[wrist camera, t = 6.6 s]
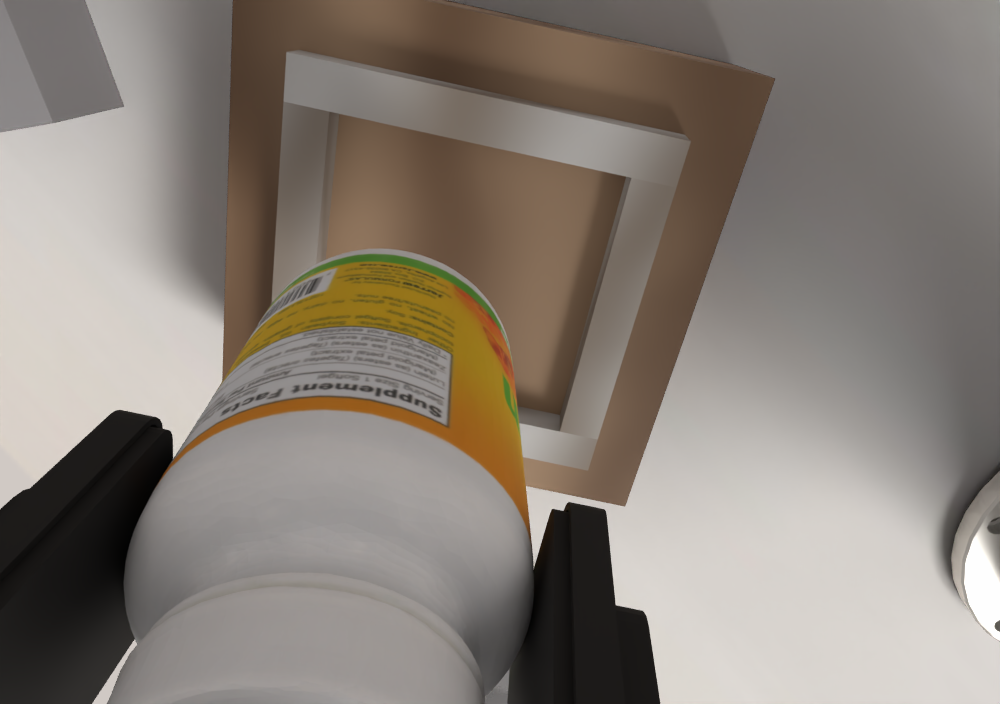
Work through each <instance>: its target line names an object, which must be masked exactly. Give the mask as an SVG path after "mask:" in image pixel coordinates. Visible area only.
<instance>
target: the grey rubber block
mask: <svg viewBox="0 0 1000 704" xmlns="http://www.w3.org/2000/svg"><path fill="white" fill-rule="evenodd" d="M119 107H124V105H123V102H122V99H121V97H120V94H119V91H118V88H117V86H116V83H115V80H114V78H113V75H112V72H111V69H110V67H109V64H108V61H107V59H106V56H105V53H104V50H103V48H102V45H101V42H100V40H99V37H98V34H97V32H96V29H95V26H94V23H93V21H92V18H91V15H90V13H89V10H88V7H87V4H86V2H85V0H0V132H5V131H11V130H16V129H22V128H28V127H33V126H39V125H45V124H51V123H56V122H60V121H64V120H68V119H73V118H77V117H81V116H85V115H90V114H94V113H98V112H102V111H107V110H111V109H115V108H119Z"/></svg>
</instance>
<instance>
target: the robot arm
mask: <svg viewBox="0 0 1000 704" xmlns="http://www.w3.org/2000/svg"><path fill="white" fill-rule="evenodd" d="M172 460H173V438H172V434H171V431H169V430H165V429H163V428H162V423H161V421H160V419H158V418H157V417H152V416H147V415H142V414H137V413H133V412H128V411H123V410H117V411H114V412H113V413H111V414H110V415H109V416H108V417H107V418H106V419H105V420H104V421H102V422H101V423H100V424H99V425H98V426H97V427H96V428H95V429H94V430H93V431H92V432H91V433H89V434H88V435H87V436H86V437H85V438H84V439H83V440H82V441H81V442H80V443H79V444H78V445H76V446H75V447H74V448H73V449H72V450H71V451H70V452H69V453H68V454H67V455H66V456H65V457H64V458H62V459H61V460H60V461H59V462H58V463H57V464H56V465H55V466H54V467H53V468H52V469H51V470H49V471H48V472H47V473H46V474H45V475H44V476H43V477H42V478H41V479H40V480H39V481H38V482H37V483H35V484H34V485H33V486H32V487H31V488H30V489H26V490H23V491H22V492H21V493H19V494H17V495H16V496H15V497H13V498H12V499H11V500H10V501H9V502H8V503H7V504H6V505H4V506H3V507H2V508H1V509H0V704H92V703H93V701H94V700H95V698H96V697H97V695H98V694H99V692H100V690H101V689H102V688H103V686H104V684H105V683H106V682H107V680H108V678H109V677H110V675H111V674H112V672H113V671H114V669H115V668H116V666H117V664H118V663H119V662H120V660H121V659H122V657H123V656H124V654H125V653H126V651H127V649H128V648H129V646H130V645H131V644H132V642H133V641H134V639H135V638H134V635H133V633H132V630H131V628H130V624H129V620H128V617H127V613H126V607H125V597H124V584H123V582H124V572H125V562H126V557H127V552H128V548H129V544H130V541H131V538H132V535H133V532H134V529H135V527H136V525H137V522H138V520H139V518H140V516H141V514H142V512H143V510H144V508H145V506H146V504H147V502H148V500H149V498H150V496H151V494H152V493H153V491H154V489H155V487H156V486H157V484H158V482H159V481H160V479H161V477H162V476H163V474H164V472H165V471H166V469H167V468H168V466H169V465H170V463H171V462H172ZM951 563H952V573H953V580H954V583H955V585H956V588H957V590H958V593H959V595H960V598H961V599H962V601H963V602H964V604H965V605H966V607H967V608H968V610H969V611H970V613H971V614H972V616H973V617H974V619H975V620H976V622H977V623H978V624H979V625H980V626H981V627H982V628H983V629H984V630H985V631H986V632H987V633H988V634H989V635H990V636H992V637H993V638H995V639H996V640H998V641H1000V471H999V472H998V473H997V474H996V475H995V476H994V477H993V478H992V479H991V480H990V481H989V482H988V483H987V484H986V485H985V486H984V487H983V488H982V489H981V490H980V492H979V493H978V495H977V496H976V498H975V499H974V500H973V502H972V503H971V505H970V506H969V508H968V509H967V511H966V512H965V514H964V516H963V518H962V521H961V523H960V525H959V528H958V530H957V532H956V535H955V539H954V544H953V550H952V556H951ZM533 571H534V599H533V610H532V615H531V620H530V624H529V627H528V630H527V633H526V636H525V639H524V642H523V644H522V646H521V648H520V650H519V652H518V654H517V656H516V658H515V660H514V662H513V663H512V665H511V667H510V670H509V685H508V699H507V704H660V699H659V692H658V685H657V679H656V672H655V665H654V659H653V652H652V645H651V639H650V632H649V625H648V621H647V617H646V615H645V613H644V612H643V611H640V610H635V609H631V608H626V607H621V606H616V605H615V595H614V585H613V575H612V565H611V555H610V545H609V535H608V525H607V515H606V511H605V510H604V509H600V508H595V507H590V506H585V505H580V504H576V503H571V502H568V503H567V505H566V507H565V509H564V511H560V510H555V509H552V511H551V513H550V516H549V519H548V523H547V526H546V529H545V533H544V536H543V540H542V543H541V546H540V550H539V553H538V557H537V560H536V563H535V567H534V570H533Z"/></svg>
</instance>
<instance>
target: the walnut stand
mask: <svg viewBox="0 0 1000 704" xmlns="http://www.w3.org/2000/svg"><path fill="white" fill-rule="evenodd" d="M774 81H775V78H772V77H769V76H766V75H763V74H760V73H757V72H754V71H751V70H748V69H745V68H742V67H739V66H736V65H733V64H729V63H725V62H720V61H716V60H711V59H707V58H702V57H698V56H693V55H689V54H684V53H680V52H675V51H671V50H666V49H662V48H657V47H653V46H648V45H644V44H640V43H635V42H631V41H626V40H622V39H617V38H613V37H608V36H604V35H599V34H595V33H590V32H586V31H581V30H577V29H572V28H568V27H563V26H559V25H554V24H550V23H545V22H541V21H537V20H532V19H528V18H523V17H519V16H514V15H510V14H505V13H501V12H496V11H492V10H487V9H483V8H478V7H474V6H469V5H465V4H460V3H456V2H451V1H447V0H233V14H232V51H231V87H230V124H229V160H228V197H227V233H226V270H225V306H224V343H223V379H222V381H223V380H224V378H225V376H226V375H227V373H228V372H229V370H230V368H231V367H232V365H233V364H234V362H235V361H236V359H237V357H238V355H239V354H240V352H241V351H242V349H243V348H244V346H245V345H246V343H247V341H248V340H249V338H250V336H251V335H252V333H253V331H254V330H255V329H256V327H257V326H258V324H259V322H260V320H261V319H262V317H263V316H264V314H265V313H266V312H267V310H268V309H269V307H270V306H271V304H272V303H273V302H274V300H275V299H276V298H277V297H278V295H279V294H280V293H281V292H282V291H283V290H284V289H285V287H286V286H287V285H288V284H289V283H290V282H291V281H293V280H294V279H295V278H296V277H297V276H299V275H300V274H301V273H303V272H304V271H306V270H307V269H309V268H310V267H312V266H314V265H316V264H318V263H320V262H322V261H324V260H326V259H329V258H331V257H334V256H337V255H340V254H343V253H347V252H351V251H357V250H364V249H394V250H401V251H407V252H411V253H415V254H419V255H422V256H425V257H428V258H431V259H433V260H435V261H438V262H440V263H443V264H444V265H446V266H448V267H450V268H452V269H453V270H455V271H456V272H458V273H459V274H461V275H462V276H463V277H465V278H466V279H468V280H469V281H470V282H471V283H472V284H473V285H475V286H476V287H477V288H478V289H479V291H480V292H481V293H482V294H483V295H484V296H485V297H486V298H487V300H488V301H489V302H490V304H491V305H492V307H493V308H494V310H495V311H496V313H497V315H498V317H499V319H500V321H501V323H502V325H503V327H504V330H505V332H506V335H507V339H508V342H509V346H510V352H511V356H512V362H513V370H514V380H515V389H516V398H517V408H518V416H519V425H520V435H521V444H522V455H523V465H524V475H525V485H526V486H529V487H534V488H539V489H544V490H549V491H553V492H558V493H563V494H568V495H572V496H577V497H582V498H587V499H592V500H596V501H601V502H606V503H611V504H616V505H620V506H625V505H626V502H627V499H628V496H629V494H630V491H631V488H632V485H633V482H634V479H635V477H636V474H637V471H638V468H639V465H640V462H641V459H642V457H643V454H644V451H645V448H646V445H647V442H648V440H649V437H650V434H651V431H652V428H653V425H654V422H655V420H656V417H657V414H658V411H659V408H660V405H661V402H662V400H663V397H664V394H665V391H666V388H667V385H668V383H669V380H670V377H671V374H672V371H673V368H674V365H675V363H676V360H677V357H678V354H679V351H680V348H681V346H682V343H683V340H684V337H685V334H686V331H687V328H688V326H689V323H690V320H691V317H692V314H693V311H694V309H695V306H696V303H697V300H698V297H699V294H700V291H701V289H702V286H703V283H704V280H705V277H706V274H707V271H708V269H709V266H710V263H711V260H712V257H713V254H714V252H715V249H716V246H717V243H718V240H719V237H720V234H721V232H722V229H723V226H724V223H725V220H726V217H727V215H728V212H729V209H730V206H731V203H732V200H733V197H734V195H735V192H736V189H737V186H738V183H739V180H740V177H741V175H742V172H743V169H744V166H745V163H746V160H747V158H748V155H749V152H750V149H751V146H752V143H753V140H754V138H755V135H756V132H757V129H758V126H759V123H760V121H761V118H762V115H763V112H764V109H765V106H766V103H767V101H768V98H769V95H770V92H771V89H772V86H773V83H774Z"/></svg>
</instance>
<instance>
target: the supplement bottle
mask: <svg viewBox="0 0 1000 704" xmlns="http://www.w3.org/2000/svg"><path fill="white" fill-rule="evenodd" d="M123 584H124V597H125V607H126V613H127V617H128V620H129V624H130V628H131V630H132V633H133V635H134V638H135V640H136V642H137V646H136V647H135V648H134V650H133V651H132V652H131V653H130V655H129V656H128V659H127V660H126V662H125V664H124V665H123V667H122V669H121V671H120V673H119V676H118V678H117V681H116V684H115V686H114V689H113V691H112V694H111V696H110V698H109V701H108V703H107V704H485V697H486V696H487V695H488V694H489V693H490V692H491V691H492V690H493V688H494V687H495V686H496V685H497V684H498V683H499V682H500V680H501V679H502V678H503V677H504V675H505V674H506V673H507V671H508V670H509V668H510V667H511V665H512V663H513V662H514V660H515V658H516V656H517V654H518V652H519V650H520V648H521V646H522V644H523V642H524V639H525V636H526V633H527V630H528V627H529V624H530V620H531V615H532V610H533V599H534V571H533V553H532V543H531V533H530V523H529V513H528V504H527V494H526V485H525V475H524V465H523V455H522V444H521V435H520V425H519V416H518V408H517V398H516V389H515V380H514V370H513V362H512V356H511V352H510V346H509V342H508V339H507V335H506V332H505V330H504V327H503V325H502V323H501V321H500V319H499V317H498V315H497V313H496V311H495V310H494V308H493V307H492V305H491V304H490V302H489V301H488V300H487V298H486V297H485V296H484V295H483V294H482V293H481V292H480V291H479V289H478V288H477V287H476V286H475V285H473V284H472V283H471V282H470V281H469V280H468V279H466V278H465V277H463V276H462V275H461V274H459V273H458V272H456V271H455V270H453V269H452V268H450V267H448V266H446V265H444V264H443V263H440V262H438V261H435V260H433V259H431V258H428V257H425V256H422V255H419V254H415V253H411V252H407V251H401V250H394V249H364V250H357V251H351V252H347V253H343V254H340V255H337V256H334V257H331V258H329V259H326V260H324V261H322V262H320V263H318V264H316V265H314V266H312V267H310V268H309V269H307V270H306V271H304V272H303V273H301V274H300V275H299V276H297V277H296V278H295V279H294V280H293V281H291V282H290V283H289V284H288V285H287V286H286V287H285V289H284V290H283V291H282V292H281V293H280V294H279V295H278V297H277V298H276V299H275V300H274V302H273V303H272V304H271V306H270V307H269V309H268V310H267V312H266V313H265V314H264V316H263V317H262V319H261V320H260V322H259V324H258V326H257V327H256V329H255V330H254V331H253V333H252V335H251V336H250V338H249V340H248V341H247V343H246V345H245V346H244V348H243V349H242V351H241V352H240V354H239V355H238V357H237V359H236V361H235V362H234V364H233V365H232V367H231V368H230V370H229V372H228V373H227V375H226V376H225V378H224V380H223V381H222V383H221V385H220V386H219V388H218V389H217V391H216V392H215V394H214V396H213V397H212V399H211V401H210V402H209V404H208V406H207V407H206V409H205V410H204V412H203V413H202V415H201V417H200V418H199V420H198V421H197V423H196V424H195V426H194V427H193V429H192V431H191V432H190V434H189V435H188V437H187V439H186V440H185V442H184V443H183V445H182V446H181V448H180V450H179V451H178V453H177V454H176V456H175V457H174V459H173V460H172V462H171V463H170V465H169V466H168V468H167V469H166V471H165V472H164V474H163V476H162V477H161V479H160V481H159V482H158V484H157V486H156V487H155V489H154V491H153V493H152V494H151V496H150V498H149V500H148V502H147V504H146V506H145V508H144V510H143V512H142V514H141V516H140V518H139V520H138V522H137V525H136V527H135V529H134V532H133V535H132V538H131V541H130V544H129V548H128V552H127V557H126V562H125V572H124V582H123Z"/></svg>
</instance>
